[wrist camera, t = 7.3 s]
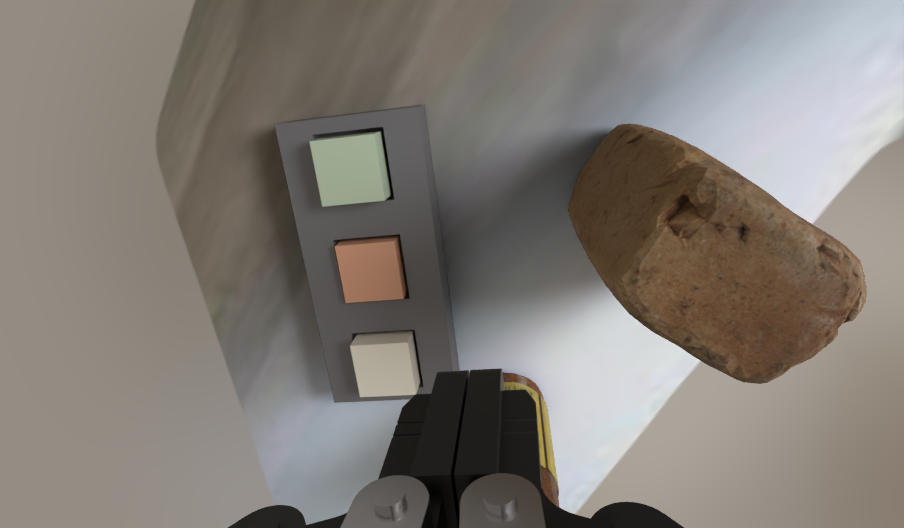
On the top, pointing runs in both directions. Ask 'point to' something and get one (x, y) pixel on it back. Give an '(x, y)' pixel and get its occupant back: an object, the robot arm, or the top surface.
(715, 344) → the brown sandstone rock
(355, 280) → the terracotta button
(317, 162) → the sage button
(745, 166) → the top surface
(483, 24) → the top surface
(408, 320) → the button panel
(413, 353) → the cream button
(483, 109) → the top surface
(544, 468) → the sauce bottle
